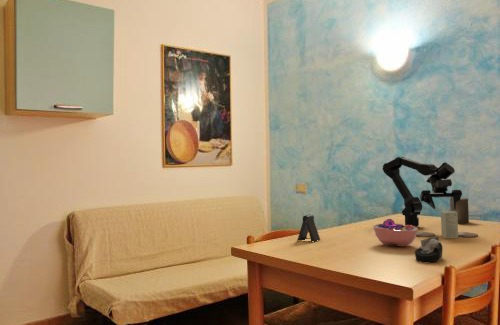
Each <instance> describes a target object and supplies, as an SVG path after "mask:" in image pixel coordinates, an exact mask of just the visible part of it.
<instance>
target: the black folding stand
mask: <svg viewBox="0 0 500 325" xmlns="http://www.w3.org/2000/svg"><path fill="white" fill-rule="evenodd" d="M308 234H309V237H308ZM305 239H311V241H316V242H318V241H317V240H319V241H321V237H320V235H319V232H318V228H317V227H316V223H315V216H314V215H313V214H311V213H310V214H306V215H303V216H302V224H301V227H300V230H299V232H298V236H297V241H298V240H305Z"/></svg>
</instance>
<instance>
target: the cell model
mask: <svg viewBox="0 0 500 325" xmlns="http://www.w3.org/2000/svg"><path fill="white" fill-rule="evenodd" d="M372 228H373V230H374V233H375V234H374V235H375V237H376V238H377V239H378V241H379V242H380V243H381V244H383V245H386V246H392V247H393V246H394V247H395V246H396V247H406V246H410V245H411V244H412V243H414V241H415V240H416V237H417V236H416V233H417V232H419V228H418V227H415V226H412V225H405V223H403V224H402V223H395V221H394V220H393V219H392V218H386V219H385V220H384V221H383V223H380V224H379V223H378V224H375V225H373V226H372Z"/></svg>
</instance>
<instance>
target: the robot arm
mask: <svg viewBox="0 0 500 325" xmlns="http://www.w3.org/2000/svg"><path fill="white" fill-rule="evenodd" d="M402 166H403V167H407V168H410V169H412V170H415V171H417V172H418V173H419V174H421V175H422V176H429V177H427V180H426V183H428V184H430V185H431V186H430V187H431V190H430V189H426V190H425V189H424V190H421V192H420V195H419V197H418V196H413V194H412V192H411V191H410V188H408V186H407V184H406V183H405V181H404V179H403V177H402V176H401V174H400V169H401V167H402ZM381 170H382V172H383V173H384V174H385V176H387V177H389V178H390V179H391V180H392V182H393V184H394V186H395V187H396V188H397V190H398V192H399V194H400V196H401V197H402V199H403V203H404V204H403V205H404V208H403V210H402V211H401V214H402V216H404V225H412V226H415V227H417V228H418V227H419V226H420V218H419V215H421V212H422V210H423V203H426V204H427V205H428V206H430V207H431V208H432V209H433V210H436V205H435V202H434V199H433V198H451V203H452V206H453V208H454V209H455V208H456V202H457V201H459V200H460V198H462V195H463V192H462V190H461V189H452V190H451V192H448V187H451V186H452V185H453V181H452V179H450V177H451V176H452V175H454V173H455V172H456V170H455V168H454V167H453V166H452V165H450V164H448V162H443V163H442V164H441V165H440V166H439V167H437V165H435V164H433V163H423V162H419V161H416V160H413V159H410V158H406V157H404V156H397V157H395V158H394V159H392V160H390V161H388V162H386V163H384V164H383V165H382V169H381Z"/></svg>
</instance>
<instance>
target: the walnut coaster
mask: <svg viewBox="0 0 500 325" xmlns="http://www.w3.org/2000/svg"><path fill="white" fill-rule="evenodd" d="M477 237H479V235H478V233H474V232H467V231H465V232H464V231H458V238H467V239H468V238H477Z"/></svg>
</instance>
